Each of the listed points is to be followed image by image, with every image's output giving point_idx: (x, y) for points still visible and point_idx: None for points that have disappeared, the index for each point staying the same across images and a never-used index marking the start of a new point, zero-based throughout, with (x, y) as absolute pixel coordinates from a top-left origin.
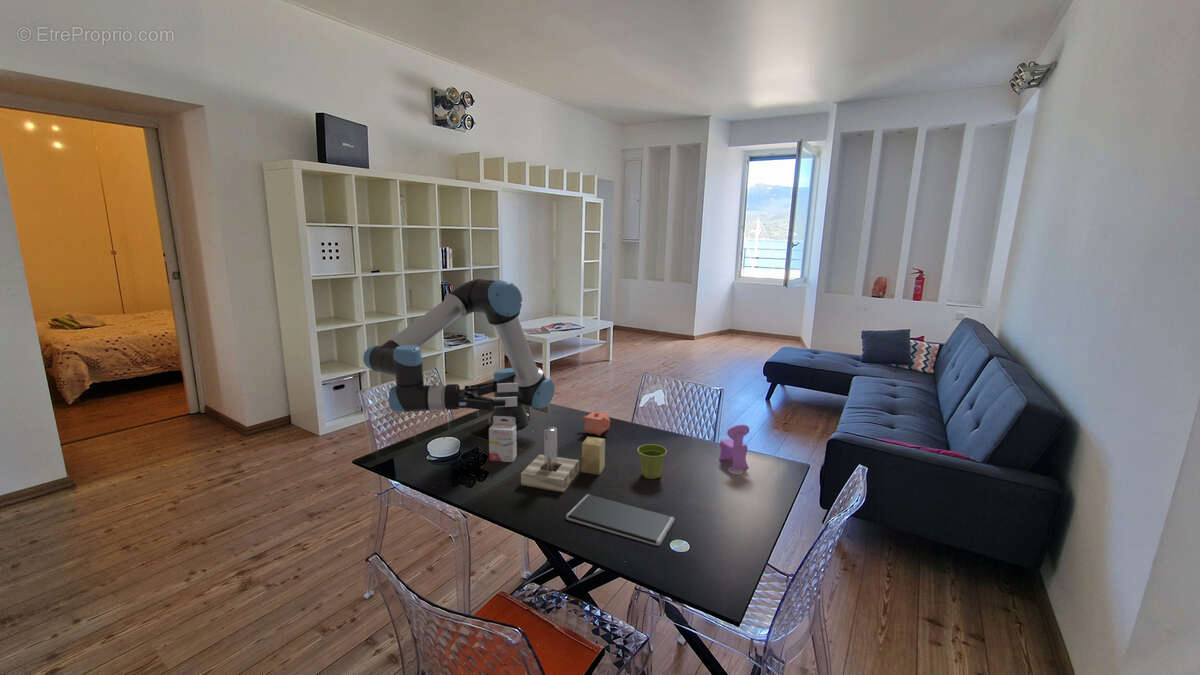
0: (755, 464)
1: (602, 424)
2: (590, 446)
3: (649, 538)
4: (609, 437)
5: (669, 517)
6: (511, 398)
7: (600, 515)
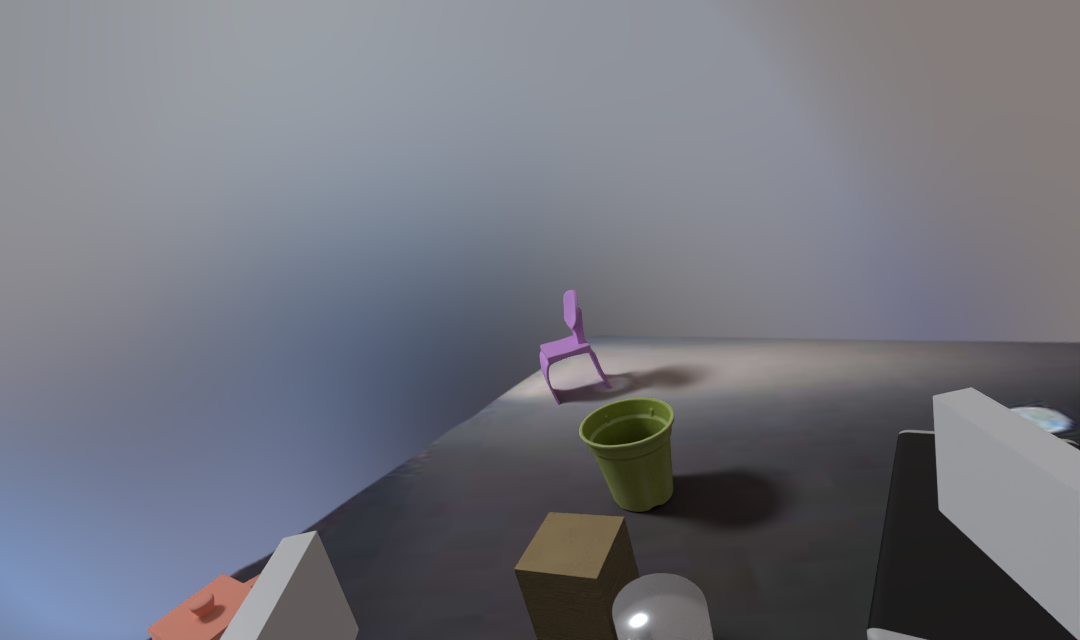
0: (585, 368)
1: None
2: (613, 554)
3: None
4: None
5: (912, 434)
6: (1038, 436)
7: None
